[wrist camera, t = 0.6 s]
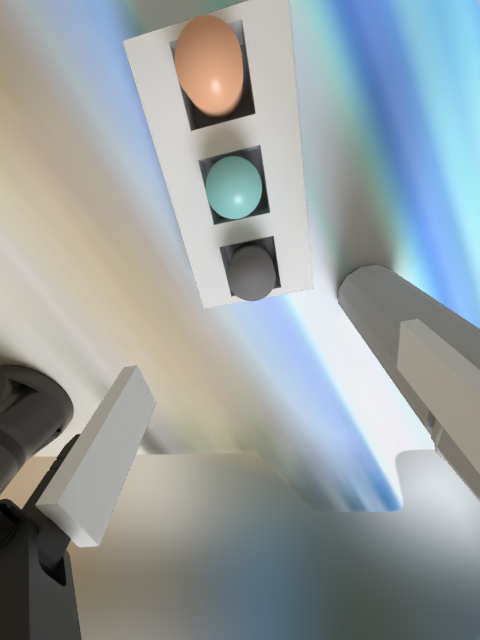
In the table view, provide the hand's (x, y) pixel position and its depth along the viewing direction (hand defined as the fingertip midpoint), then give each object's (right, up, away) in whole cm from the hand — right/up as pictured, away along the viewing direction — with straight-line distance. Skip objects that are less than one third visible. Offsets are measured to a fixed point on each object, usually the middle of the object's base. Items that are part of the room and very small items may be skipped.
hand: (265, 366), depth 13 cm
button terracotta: (-3, +21, +8) cm, 23 cm away
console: (-2, +17, +15) cm, 22 cm away
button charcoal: (0, +8, +15) cm, 17 cm away
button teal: (-2, +15, +12) cm, 19 cm away
